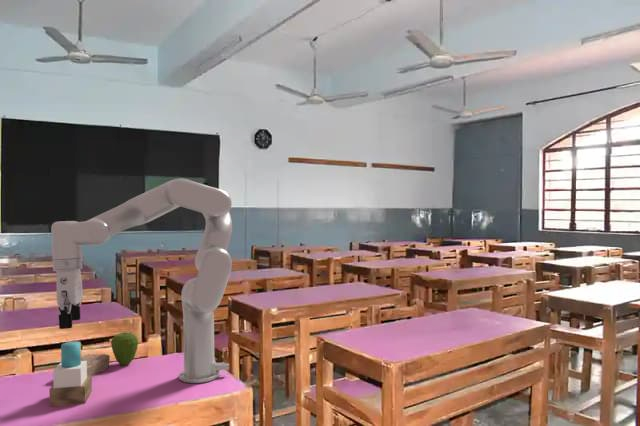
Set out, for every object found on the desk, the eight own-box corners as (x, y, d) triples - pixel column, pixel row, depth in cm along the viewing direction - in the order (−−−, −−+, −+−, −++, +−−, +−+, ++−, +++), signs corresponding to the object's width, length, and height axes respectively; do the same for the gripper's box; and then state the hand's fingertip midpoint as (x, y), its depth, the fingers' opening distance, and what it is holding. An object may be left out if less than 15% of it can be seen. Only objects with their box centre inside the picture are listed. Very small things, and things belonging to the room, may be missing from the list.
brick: (78, 385, 156) (78, 369, 156) (54, 383, 158) (54, 368, 157) (110, 367, 172) (110, 354, 172) (88, 366, 174) (88, 352, 174)
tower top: (87, 377, 148) (86, 360, 148) (80, 386, 141) (80, 368, 141) (61, 379, 146) (60, 362, 146) (53, 388, 140) (53, 370, 139)
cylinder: (82, 361, 147) (82, 341, 147) (78, 366, 142) (78, 345, 142) (63, 362, 146) (63, 342, 146) (59, 368, 141) (59, 346, 141)
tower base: (92, 392, 150) (91, 375, 150) (85, 404, 141) (84, 386, 141) (58, 395, 148) (58, 378, 148) (49, 407, 139) (49, 389, 139)
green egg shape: (143, 362, 177) (142, 329, 177) (127, 369, 169) (126, 335, 169) (122, 359, 180) (122, 327, 179) (106, 367, 171) (105, 333, 171)
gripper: (74, 267, 136) (77, 330, 137) (88, 260, 153) (90, 316, 153) (44, 269, 134) (46, 333, 135) (61, 261, 151) (63, 318, 152)
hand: (70, 324), depth 144 cm, fingers open, 9 cm apart
